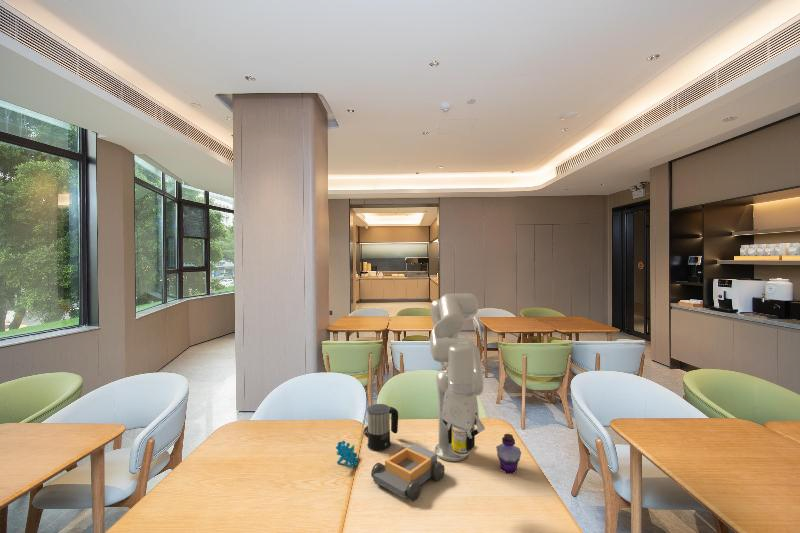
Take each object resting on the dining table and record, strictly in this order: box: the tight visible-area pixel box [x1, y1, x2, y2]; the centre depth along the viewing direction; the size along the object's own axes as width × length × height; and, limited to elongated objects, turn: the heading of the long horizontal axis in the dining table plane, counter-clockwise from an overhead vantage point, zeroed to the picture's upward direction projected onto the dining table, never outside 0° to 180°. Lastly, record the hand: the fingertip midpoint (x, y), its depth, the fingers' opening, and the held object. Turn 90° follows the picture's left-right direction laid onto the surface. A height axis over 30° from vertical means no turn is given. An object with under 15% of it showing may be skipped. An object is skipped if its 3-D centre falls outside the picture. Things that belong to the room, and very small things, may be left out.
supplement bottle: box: [452, 425, 471, 456], centre depth 109 cm, size 6×6×10 cm
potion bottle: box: [496, 433, 522, 474], centre depth 127 cm, size 9×9×12 cm
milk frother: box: [363, 403, 399, 452], centre depth 148 cm, size 14×16×15 cm
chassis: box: [371, 443, 446, 502], centre depth 122 cm, size 20×17×6 cm
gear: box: [335, 440, 359, 469], centre depth 132 cm, size 11×6×10 cm
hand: (461, 444), depth 110 cm, fingers closed on supplement bottle, 5 cm apart
